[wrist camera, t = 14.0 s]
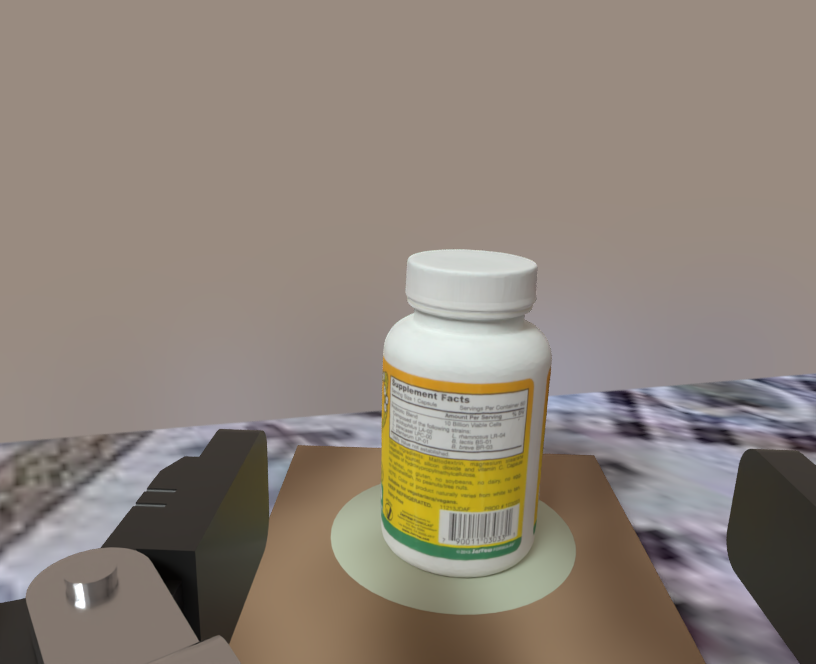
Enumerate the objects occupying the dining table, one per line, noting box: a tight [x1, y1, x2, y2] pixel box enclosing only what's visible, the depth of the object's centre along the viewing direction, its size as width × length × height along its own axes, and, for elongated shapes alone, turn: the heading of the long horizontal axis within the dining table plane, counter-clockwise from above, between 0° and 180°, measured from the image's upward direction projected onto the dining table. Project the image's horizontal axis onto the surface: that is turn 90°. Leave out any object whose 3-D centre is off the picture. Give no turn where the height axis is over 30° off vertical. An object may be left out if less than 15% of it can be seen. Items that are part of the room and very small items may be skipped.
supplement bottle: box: [381, 249, 552, 578], centre depth 22 cm, size 5×5×10 cm
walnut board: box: [229, 445, 706, 664], centre depth 24 cm, size 13×13×1 cm
